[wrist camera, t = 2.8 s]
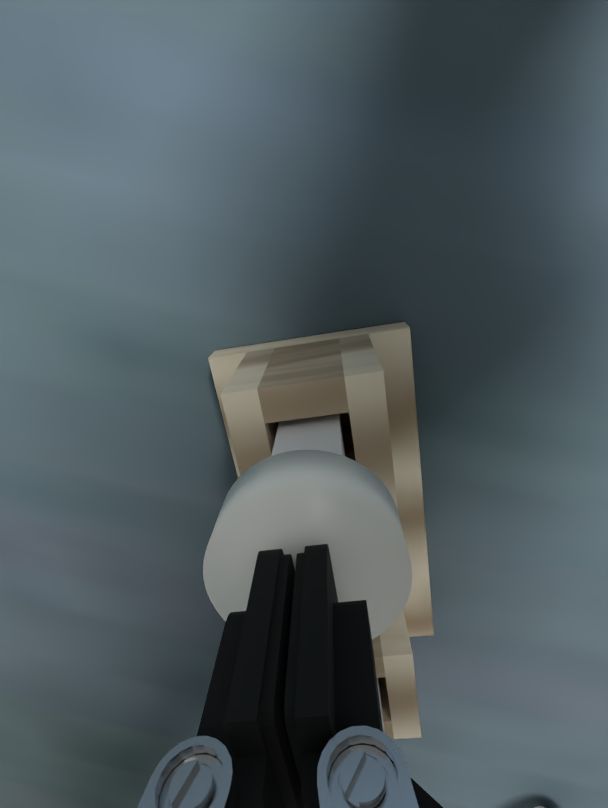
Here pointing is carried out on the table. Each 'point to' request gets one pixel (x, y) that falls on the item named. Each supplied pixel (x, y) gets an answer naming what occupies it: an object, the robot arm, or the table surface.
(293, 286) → the table surface
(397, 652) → the block
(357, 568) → the plug
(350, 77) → the table surface
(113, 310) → the table surface
